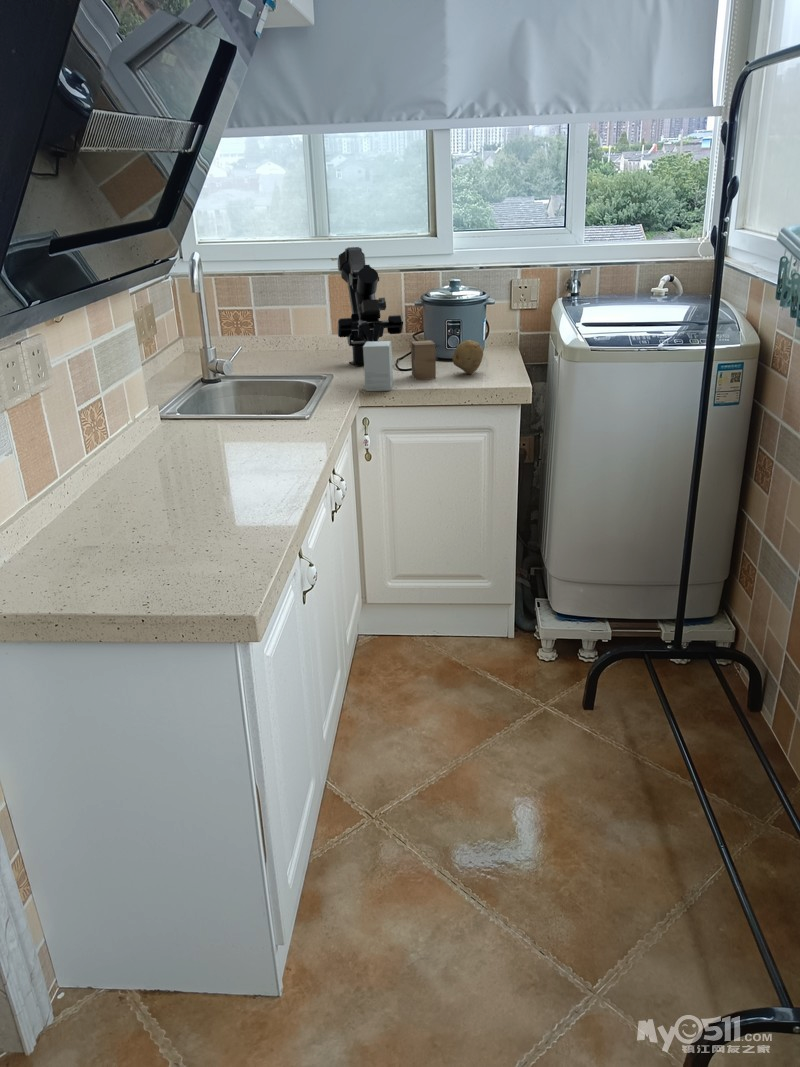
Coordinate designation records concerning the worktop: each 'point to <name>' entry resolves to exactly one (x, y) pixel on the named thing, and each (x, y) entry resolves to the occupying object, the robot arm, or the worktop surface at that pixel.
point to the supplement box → (378, 365)
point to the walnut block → (423, 359)
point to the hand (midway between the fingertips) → (374, 350)
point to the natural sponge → (468, 356)
